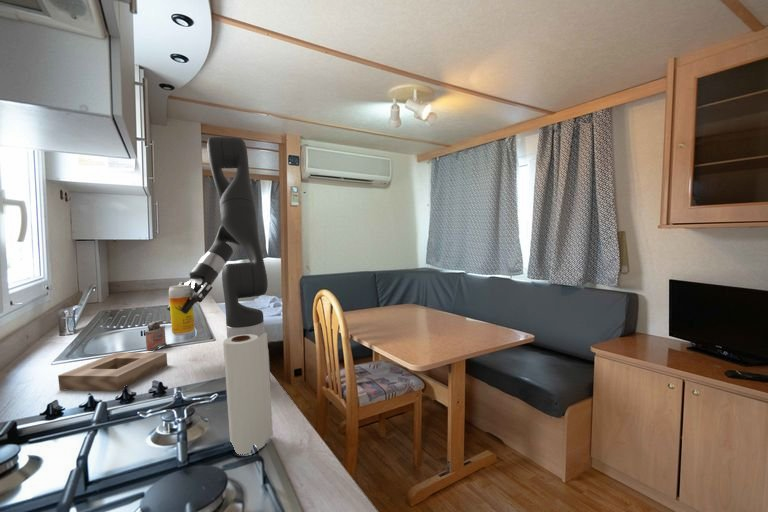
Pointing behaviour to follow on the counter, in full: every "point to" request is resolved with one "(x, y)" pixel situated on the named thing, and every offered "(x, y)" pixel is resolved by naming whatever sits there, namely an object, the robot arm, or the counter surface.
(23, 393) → the counter surface
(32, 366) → the counter surface
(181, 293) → the yellow cylinder
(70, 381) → the socket block
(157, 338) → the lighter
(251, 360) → the paper towel roll
